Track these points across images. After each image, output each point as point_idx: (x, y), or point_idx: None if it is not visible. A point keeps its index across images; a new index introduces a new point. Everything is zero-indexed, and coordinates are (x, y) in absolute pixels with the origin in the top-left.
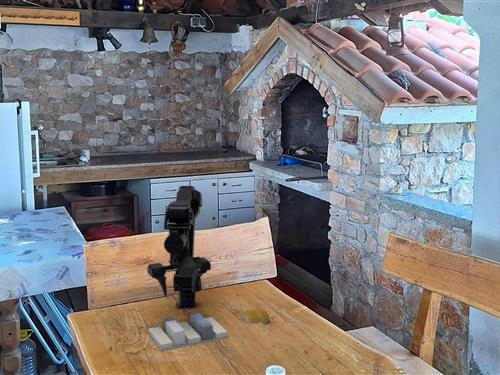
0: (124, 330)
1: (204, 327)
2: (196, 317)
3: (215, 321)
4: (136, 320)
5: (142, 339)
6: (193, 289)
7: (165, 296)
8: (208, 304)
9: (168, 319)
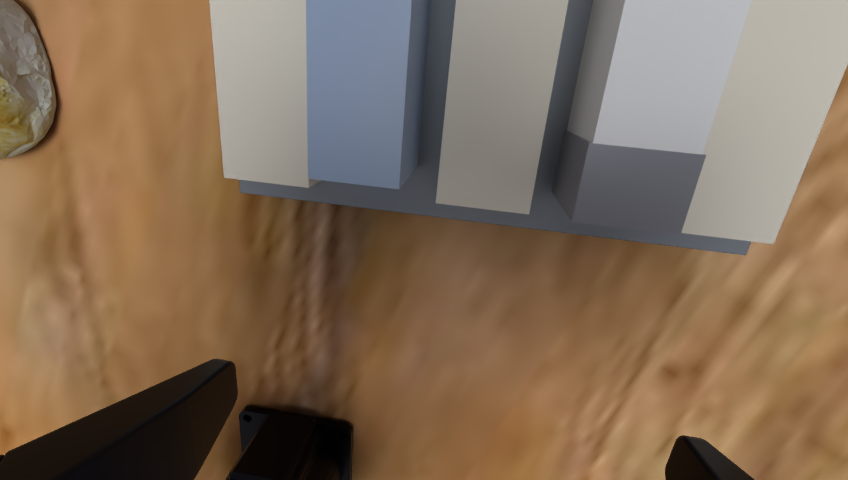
0: (799, 390)
1: None
2: (375, 91)
3: (222, 79)
4: (643, 464)
5: (800, 203)
6: (211, 397)
7: (702, 440)
8: None
9: (642, 195)
